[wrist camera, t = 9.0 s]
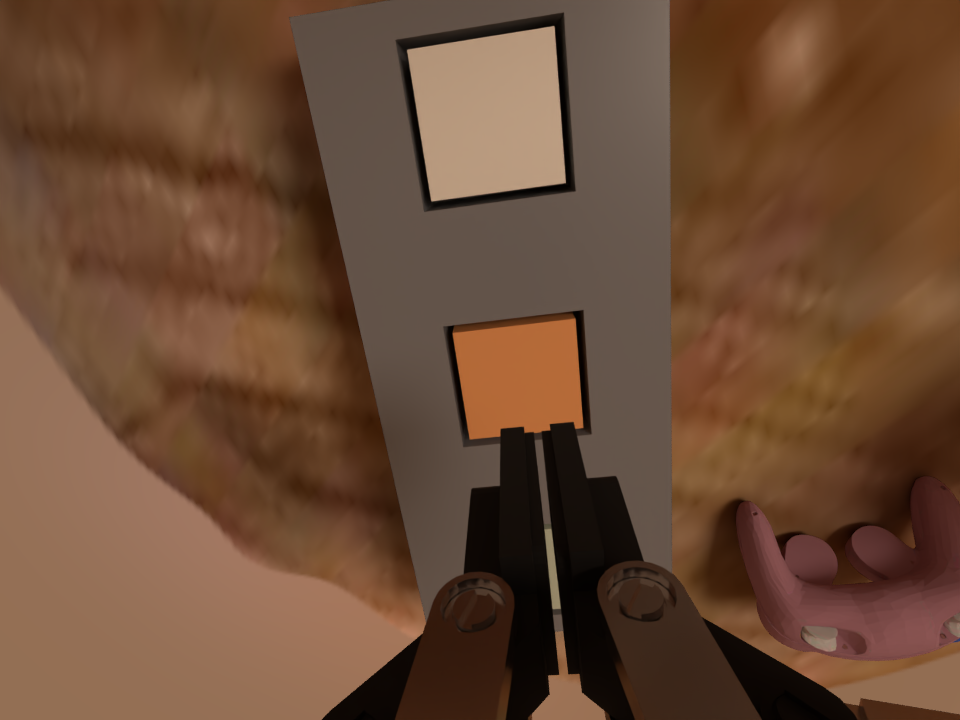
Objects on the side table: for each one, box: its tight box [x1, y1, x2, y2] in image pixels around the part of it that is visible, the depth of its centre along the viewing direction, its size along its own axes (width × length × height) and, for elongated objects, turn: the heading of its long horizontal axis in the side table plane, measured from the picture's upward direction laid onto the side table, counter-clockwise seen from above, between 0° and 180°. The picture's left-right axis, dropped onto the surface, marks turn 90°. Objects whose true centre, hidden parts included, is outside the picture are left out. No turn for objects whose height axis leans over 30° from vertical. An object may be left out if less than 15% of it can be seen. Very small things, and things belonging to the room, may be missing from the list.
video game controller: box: [736, 476, 960, 661], centre depth 25 cm, size 10×5×7 cm, turn 101°
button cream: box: [407, 26, 566, 201], centre depth 18 cm, size 4×4×3 cm
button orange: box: [453, 311, 583, 439], centre depth 21 cm, size 4×4×3 cm
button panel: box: [289, 0, 672, 632], centre depth 22 cm, size 25×11×4 cm, turn 8°
